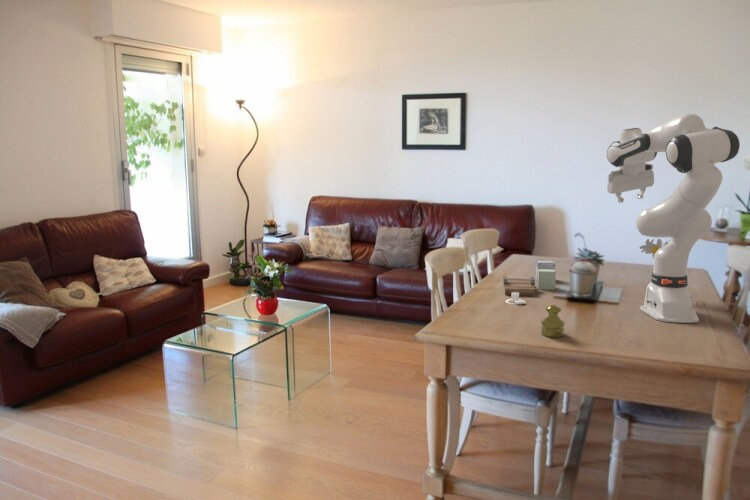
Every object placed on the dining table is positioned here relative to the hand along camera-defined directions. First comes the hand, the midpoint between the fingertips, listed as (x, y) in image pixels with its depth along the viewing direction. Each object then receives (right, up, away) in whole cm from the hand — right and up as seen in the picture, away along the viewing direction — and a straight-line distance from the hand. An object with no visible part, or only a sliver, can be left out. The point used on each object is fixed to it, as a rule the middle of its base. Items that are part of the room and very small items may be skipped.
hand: (630, 200), depth 242 cm
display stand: (-45, -38, +9) cm, 60 cm away
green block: (-32, -38, +11) cm, 51 cm away
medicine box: (-28, -35, +26) cm, 52 cm away
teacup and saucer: (-53, -43, -11) cm, 69 cm away
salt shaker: (-48, -49, -48) cm, 83 cm away
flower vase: (+9, -40, -5) cm, 42 cm away
